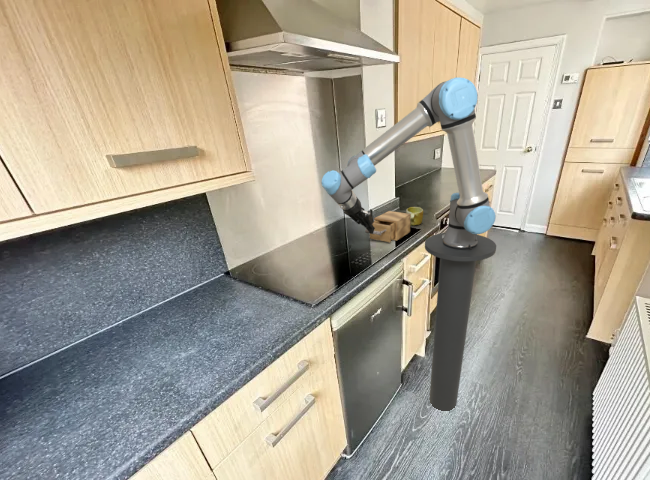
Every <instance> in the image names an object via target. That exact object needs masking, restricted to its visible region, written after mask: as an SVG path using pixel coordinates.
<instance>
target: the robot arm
mask: <svg viewBox="0 0 650 480" xmlns="http://www.w3.org/2000/svg"><path fill="white" fill-rule="evenodd" d="M478 99H479V97H478V90H477V88H476V86H475V84H474V82H472V81H471V80H469V79H468V78H465V77H453V78H450V79H448V80H445V81H442V82H441V83H439V84H437V85H436V86H435V87H434V88H433V89H432V90H431V91H429V92H428V94H427V95H425V97H423V98H422V99H421V100H420V101H418V102H417V104H416V107H415V108H414V109H413V110H412V111H410V112H409V113H408V114H407V115H405V116H404V117H403V118H401V119H400V120H399V121H397V122H396V123H395V124H394V125H393V126H391V127H390V128H388V129H387V130H386V131H385V132H383V133H382V134H381V135H379V136H378V137H377V138H376V139H375V140H373V141H372V142H371V143H369V144H368V145H367V146H366V147H364V148H363V149H362V150H361V151H359V152H358V153H356V155H353V156H351V157H350V158H349V159H348V161H347V166H346V167H345V168H343V169H342V170H340V171H339V172H338V171H337V170H334V169H332V170H327V172H325V173H324V174H323V176H322V177H321V186H322V188H323V189H324V191H326V194H327V195H329V197H331V198H332V199H333V201H334V202H335V203H336V204H337V205H338V206H339V207H340V209H342V211H343V214H345V215H346V216H348V217H349V218H350V219H351V220H352V221H353V222H355V223H356V224H357V225H361V226H363V227H364V228H365V230H366V229H367V230H368V231H369V232H370V233H373V232H374V229H375V228H374V226H373V225H372V224H373V222H374V217H373V216H372V211H371V210H365V208H364V207H363V206H362V202H361V200H360V199H359V198H358V196H357V195H356V194H355V192H354V191H353V189H355V188H356V187H358V186H359V185H361V184H362V183H364V182H365V181H367V180H368V179H370V178H371V177H372V176H374V175H375V174H376V172H377V168H376V165H378V164H379V163H380V162H382V161H383V160H384V159H386V158H388V157H389V156H390V155H392V153H394V152H395V151H396V150H398V149H399V148H400V147H401V146H403V145H404V144H406V143H407V142H408V141H410V140H411V139H413V137H415V136H416V135H417V134H419V133H420V132H421V131H423V130H424V129H426V128H427V127H430V128H431V127H432V126H434V125H435V124H437V123H440V129H441V130H442V131H443V132H445V134H447V141H448V145H449V149H450V155H451V161H452V165H453V170H454V175H455V180H456V185H457V190H458V192H454V193H452V194H451V195H450V200H449V212H448V224H447V228H446V230H445V232H444V233H445V234H444V235H442V238H443V244H444V245H445V246H447V247H449V248H453V249H470V250H472V248H474V247H476V246H477V242H478V241H477V235H482V234H484V233H486V232H488V231H490V229H491V228H492V227H493V226H494V224H495V222H496V217H497V216H496V212H495V210H494V208H493V207H492V206H491V205H490V199H489V194H488V192H485V191H484V189H483V182H482V177H481V171H480V170H481V169H480V165H479V158H478V152H477V146H476V140H475V134H474V127H473V123H474V122H475V120H476V118H477V116H476V110H475V109H476V106H477V104H478ZM370 233H369V234H370ZM476 234H477V235H476Z"/></svg>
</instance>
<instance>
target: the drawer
mask: <svg viewBox="0 0 650 480" xmlns="http://www.w3.org/2000/svg"><path fill="white" fill-rule="evenodd" d="M372 225H373V226H374V228H375V229H374V232H373V233H370V232H369V231H368V230H367V229H366V228H365V230H364V232H365V233H366V234H369V239H370V240H374V241H375V240H376V241H381V242H386V243H391V242H392V241H393V240H392V239H393V238H395V223H393V222H387V221H380V220H377V221H375V222H374V221H373V224H372Z"/></svg>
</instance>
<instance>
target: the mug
mask: <svg viewBox="0 0 650 480" xmlns="http://www.w3.org/2000/svg"><path fill="white" fill-rule="evenodd" d="M405 213H408V214H411V217H410V227H411V226H419V225H421V224H422V222H423V218H424V209H423V208H422V207H420V206H410V207H408V208H406V210H405Z"/></svg>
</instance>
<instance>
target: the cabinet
mask: <svg viewBox="0 0 650 480" xmlns="http://www.w3.org/2000/svg"><path fill="white" fill-rule="evenodd" d="M410 217H411V214H408V213H406V212H400V211H393V210H392V211H391V210H388V211H386V212H384V213H382V214H380V215H378V216H376V217H373V222H375V221H377V220H380V221H387V222H393V223H395V238H393V239H392V240H391V241H396V242H397V241H398V240H401V239H402V238H403V237H404V236H406V235H408V234H409V233H411V225H410Z"/></svg>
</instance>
